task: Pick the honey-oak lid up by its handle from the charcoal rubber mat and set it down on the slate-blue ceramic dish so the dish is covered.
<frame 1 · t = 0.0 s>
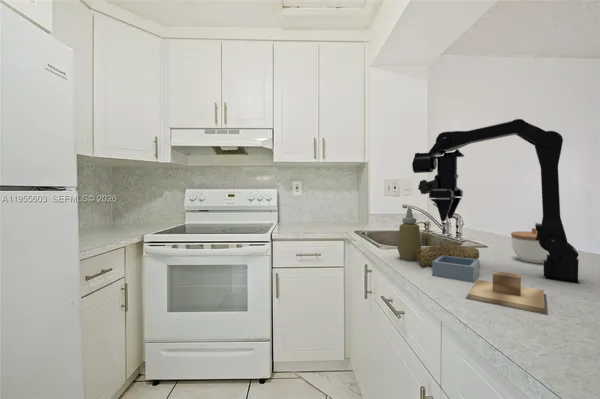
hand: (446, 219, 96), 15 cm above the countertop, fingers open, 9 cm apart
rubber mat: (506, 298, 66), on the countertop
ceramic dish: (455, 276, 83), on the countertop
sponge: (449, 265, 96), on the countertop
lidded bowl: (533, 261, 100), on the countertop
oak lid: (506, 296, 66), point 1 cm above the countertop, touching rubber mat
squeeze bottle: (409, 259, 105), on the countertop
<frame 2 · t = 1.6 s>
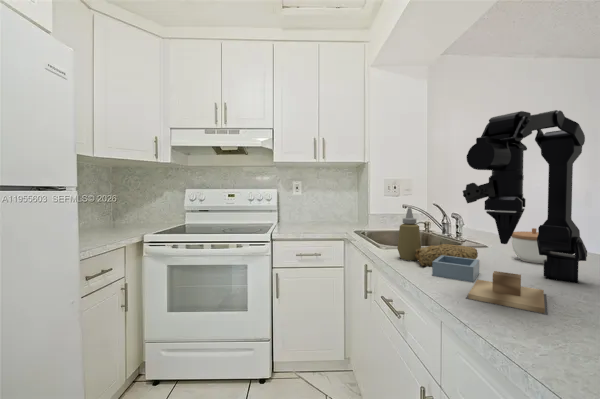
hand: (505, 240, 66), 13 cm above the countertop, fingers open, 9 cm apart
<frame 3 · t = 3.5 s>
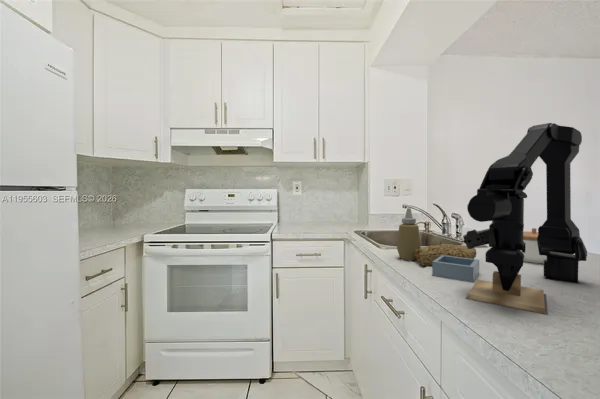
hand: (506, 288, 66), 2 cm above the countertop, fingers closed on oak lid, 3 cm apart
oak lid: (506, 296, 66), point 1 cm above the countertop, touching gripper, rubber mat
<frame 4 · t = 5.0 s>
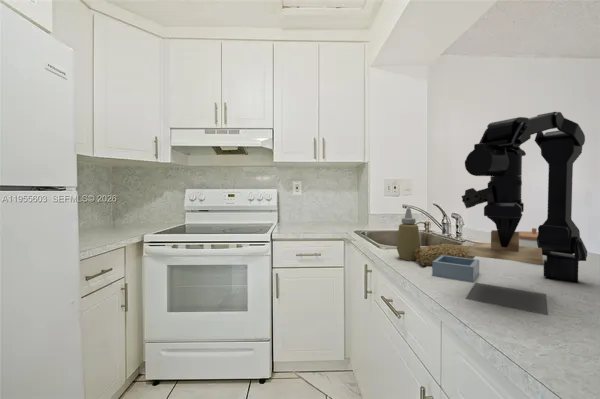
hand: (504, 245, 66), 12 cm above the countertop, fingers closed on oak lid, 3 cm apart
oak lid: (504, 253, 67), point 10 cm above the countertop, touching gripper
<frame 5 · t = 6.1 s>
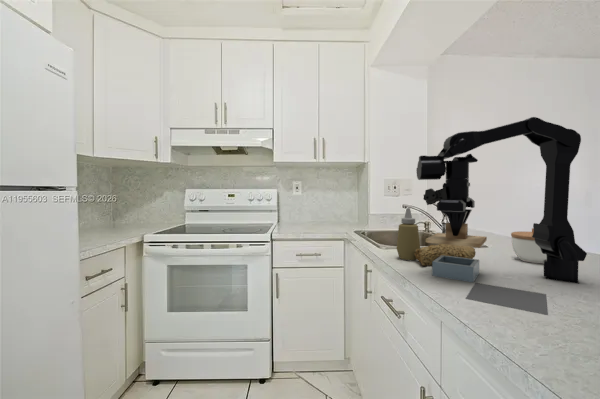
hand: (456, 234, 83), 12 cm above the countertop, fingers closed on oak lid, 3 cm apart
oak lid: (456, 241, 83), point 10 cm above the countertop, touching gripper
when the fingers open (8 cm above the countertop, at t = 6.9 s): oak lid drops 2 cm, resting on ceramic dish, sponge.
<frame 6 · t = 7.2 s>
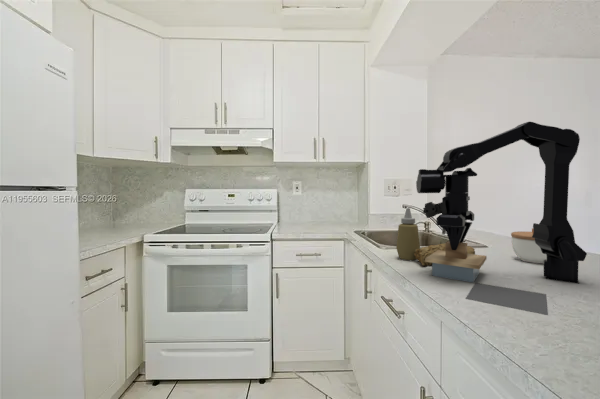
hand: (456, 248, 83), 8 cm above the countertop, fingers open, 6 cm apart
sponge: (446, 264, 98), on the countertop, touching oak lid, squeeze bottle
oak lid: (456, 260, 83), point 5 cm above the countertop, touching ceramic dish, sponge
squeeze bottle: (408, 259, 105), on the countertop, touching sponge
everything else where it was.
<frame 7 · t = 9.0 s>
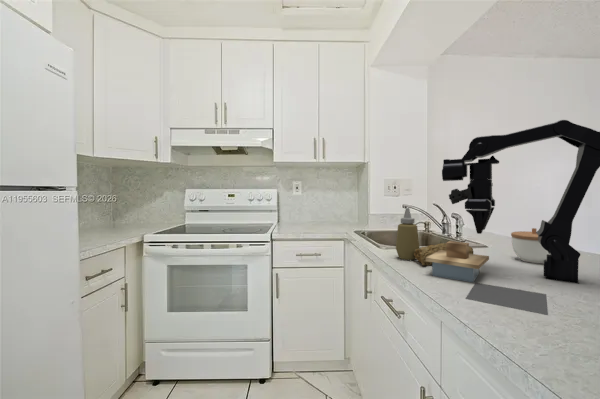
hand: (480, 231, 89), 12 cm above the countertop, fingers open, 9 cm apart
sponge: (445, 264, 99), on the countertop, touching oak lid
oak lid: (457, 260, 83), point 5 cm above the countertop, touching sponge
squeeze bottle: (407, 259, 105), on the countertop
everything else where it was.
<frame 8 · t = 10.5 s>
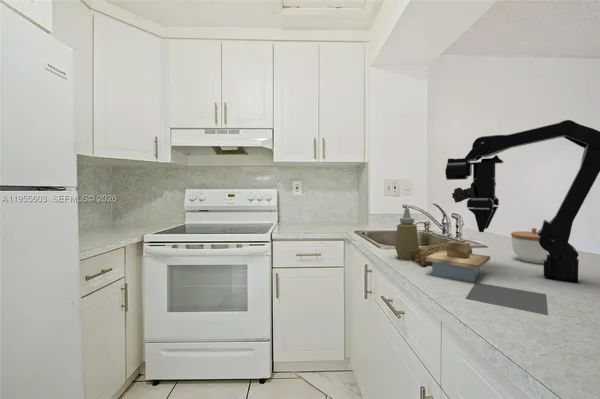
hand: (483, 230, 90), 12 cm above the countertop, fingers open, 9 cm apart
sponge: (444, 263, 99), on the countertop
oak lid: (458, 260, 84), point 5 cm above the countertop, touching ceramic dish
everything else where it was.
at the end: oak lid 0.9 cm off-centre on the ceramic dish, point 4.5 cm above the ceramic dish's base; oak lid tilted 0°; the gripper is holding nothing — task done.
